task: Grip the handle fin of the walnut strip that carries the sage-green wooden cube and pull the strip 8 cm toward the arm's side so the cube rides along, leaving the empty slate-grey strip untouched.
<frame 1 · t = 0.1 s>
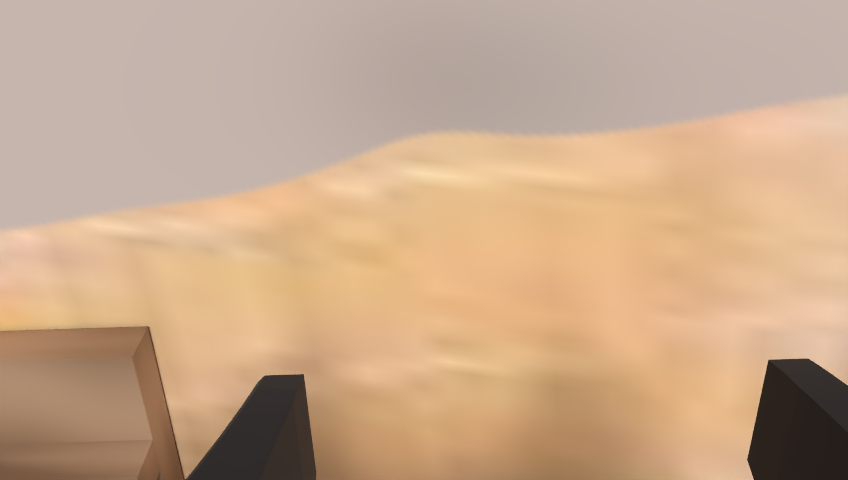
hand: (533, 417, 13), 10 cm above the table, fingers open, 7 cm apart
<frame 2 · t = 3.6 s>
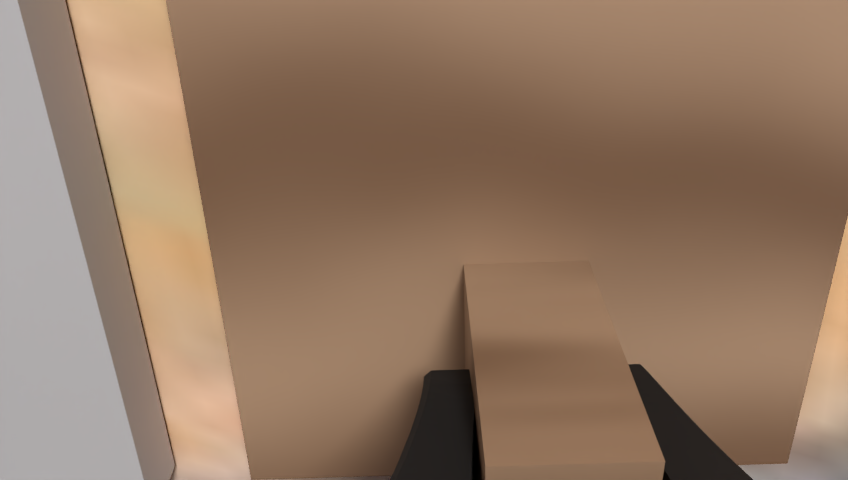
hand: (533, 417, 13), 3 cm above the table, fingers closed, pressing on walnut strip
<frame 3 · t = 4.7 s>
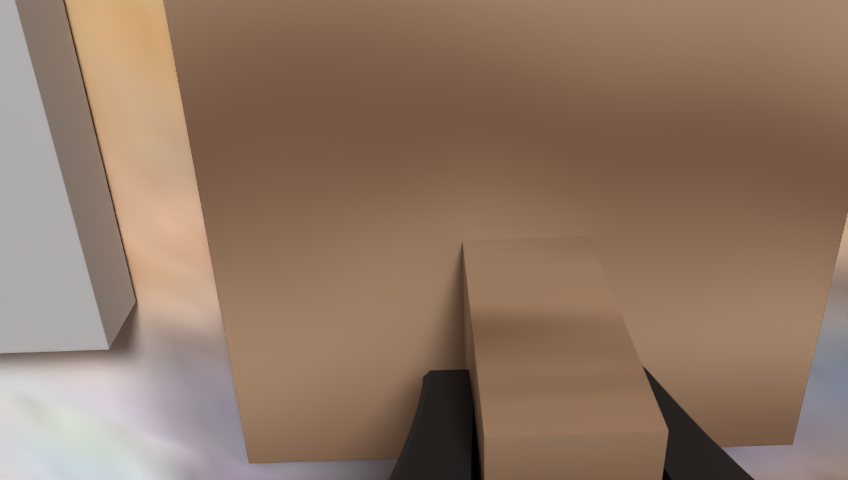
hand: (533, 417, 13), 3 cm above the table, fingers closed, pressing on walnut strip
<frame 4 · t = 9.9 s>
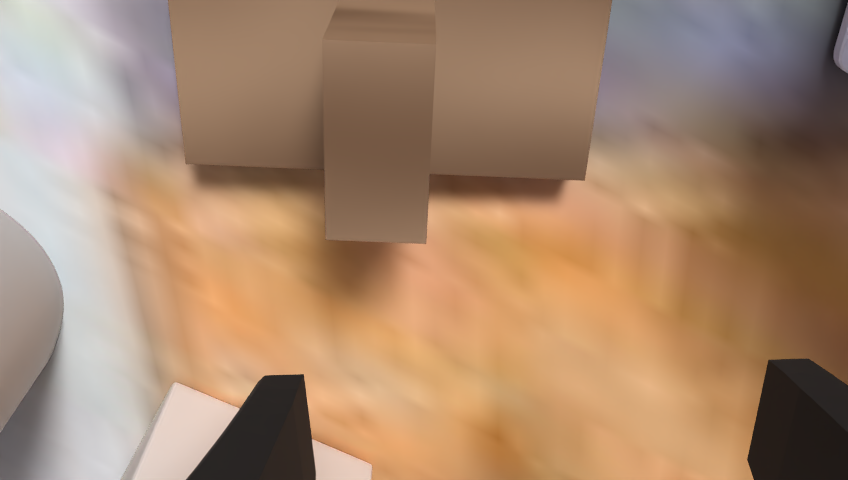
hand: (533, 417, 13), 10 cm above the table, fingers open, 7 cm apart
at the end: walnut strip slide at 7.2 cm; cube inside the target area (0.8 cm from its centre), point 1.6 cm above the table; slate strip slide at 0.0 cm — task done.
